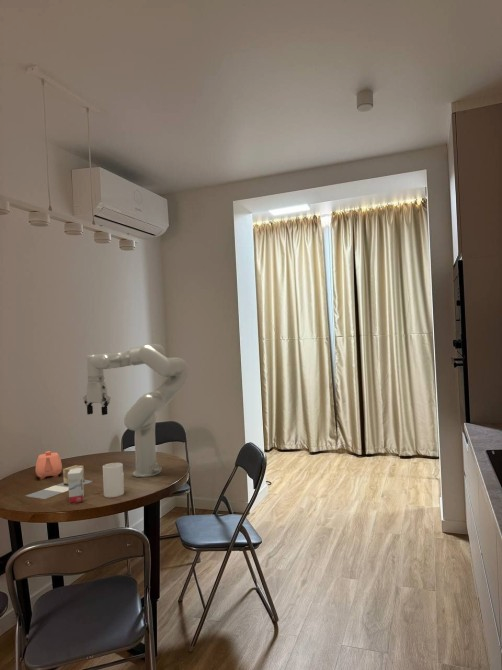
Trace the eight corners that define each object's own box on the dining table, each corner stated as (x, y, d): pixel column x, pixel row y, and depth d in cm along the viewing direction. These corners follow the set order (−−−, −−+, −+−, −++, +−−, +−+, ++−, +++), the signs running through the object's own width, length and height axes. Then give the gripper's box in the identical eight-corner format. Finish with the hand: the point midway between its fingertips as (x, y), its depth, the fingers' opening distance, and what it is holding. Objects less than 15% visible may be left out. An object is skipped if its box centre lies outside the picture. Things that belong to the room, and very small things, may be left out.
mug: (119, 487, 205) (118, 459, 205) (126, 494, 194) (125, 465, 194) (100, 491, 201) (98, 462, 201) (106, 498, 190) (104, 468, 190)
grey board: (93, 483, 214) (93, 480, 214) (44, 501, 191) (44, 499, 191) (74, 480, 219) (74, 478, 219) (24, 498, 196) (24, 495, 196)
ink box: (82, 502, 187) (80, 472, 187) (68, 504, 186) (67, 474, 186) (84, 496, 195) (83, 467, 196) (71, 497, 194) (70, 468, 194)
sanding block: (84, 481, 213) (83, 466, 213) (71, 486, 207) (71, 470, 207) (76, 480, 216) (75, 465, 216) (63, 485, 209) (63, 469, 210)
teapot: (36, 473, 236) (35, 449, 236) (62, 470, 240) (61, 446, 240) (34, 484, 217) (33, 457, 217) (62, 480, 222) (61, 454, 222)
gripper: (114, 378, 232) (116, 413, 232) (88, 379, 240) (90, 412, 240) (103, 380, 226) (104, 416, 225) (77, 380, 234) (78, 415, 233)
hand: (97, 414), depth 233 cm, fingers open, 9 cm apart
